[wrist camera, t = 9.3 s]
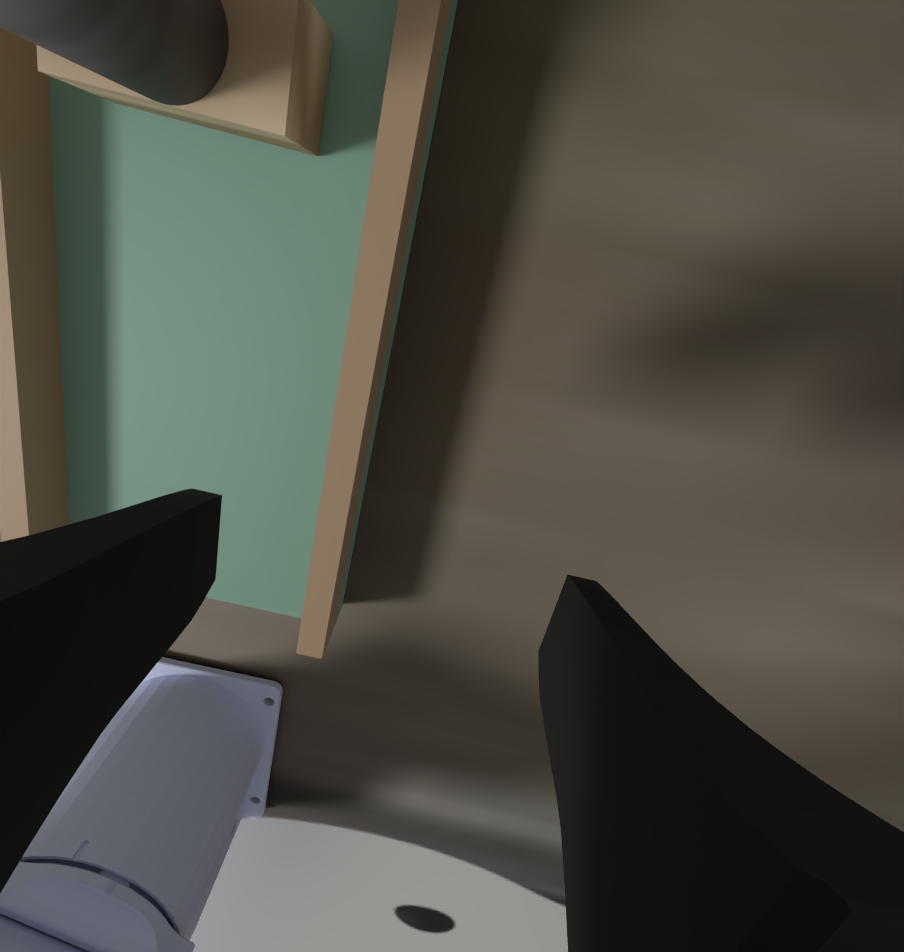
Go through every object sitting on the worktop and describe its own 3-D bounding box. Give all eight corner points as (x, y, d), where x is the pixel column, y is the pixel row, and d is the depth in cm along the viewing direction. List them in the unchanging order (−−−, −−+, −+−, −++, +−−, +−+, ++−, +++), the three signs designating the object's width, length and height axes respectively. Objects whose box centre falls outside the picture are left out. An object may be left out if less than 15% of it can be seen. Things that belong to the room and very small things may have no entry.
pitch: (342, 604, 24) (281, 762, 16) (71, 544, 23) (-119, 680, 16) (566, -568, 12) (719, -1982, 4) (14, -753, 11) (-904, -2755, 4)
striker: (318, 156, 16) (181, 72, 9) (115, 103, 16) (-208, -33, 8) (333, 34, 15) (189, -185, 7) (114, -26, 15) (-261, -316, 7)
